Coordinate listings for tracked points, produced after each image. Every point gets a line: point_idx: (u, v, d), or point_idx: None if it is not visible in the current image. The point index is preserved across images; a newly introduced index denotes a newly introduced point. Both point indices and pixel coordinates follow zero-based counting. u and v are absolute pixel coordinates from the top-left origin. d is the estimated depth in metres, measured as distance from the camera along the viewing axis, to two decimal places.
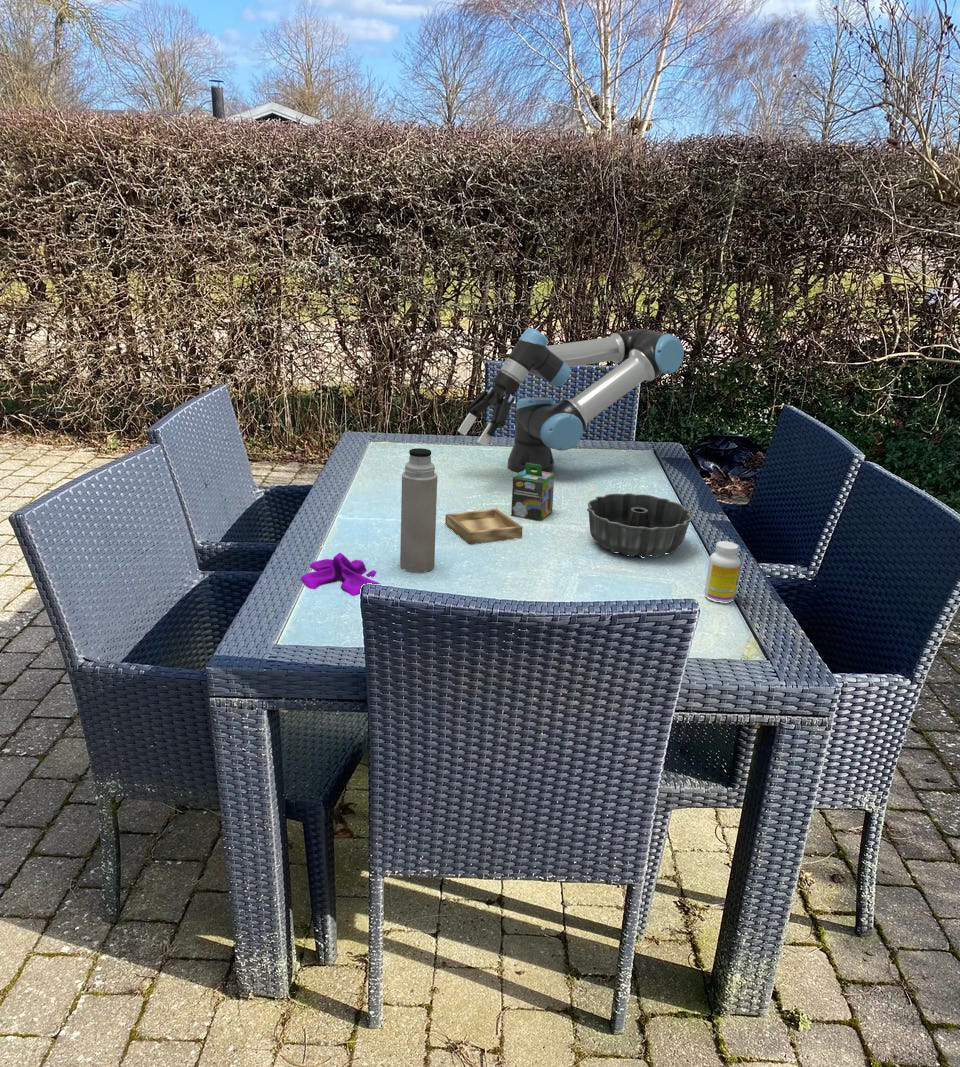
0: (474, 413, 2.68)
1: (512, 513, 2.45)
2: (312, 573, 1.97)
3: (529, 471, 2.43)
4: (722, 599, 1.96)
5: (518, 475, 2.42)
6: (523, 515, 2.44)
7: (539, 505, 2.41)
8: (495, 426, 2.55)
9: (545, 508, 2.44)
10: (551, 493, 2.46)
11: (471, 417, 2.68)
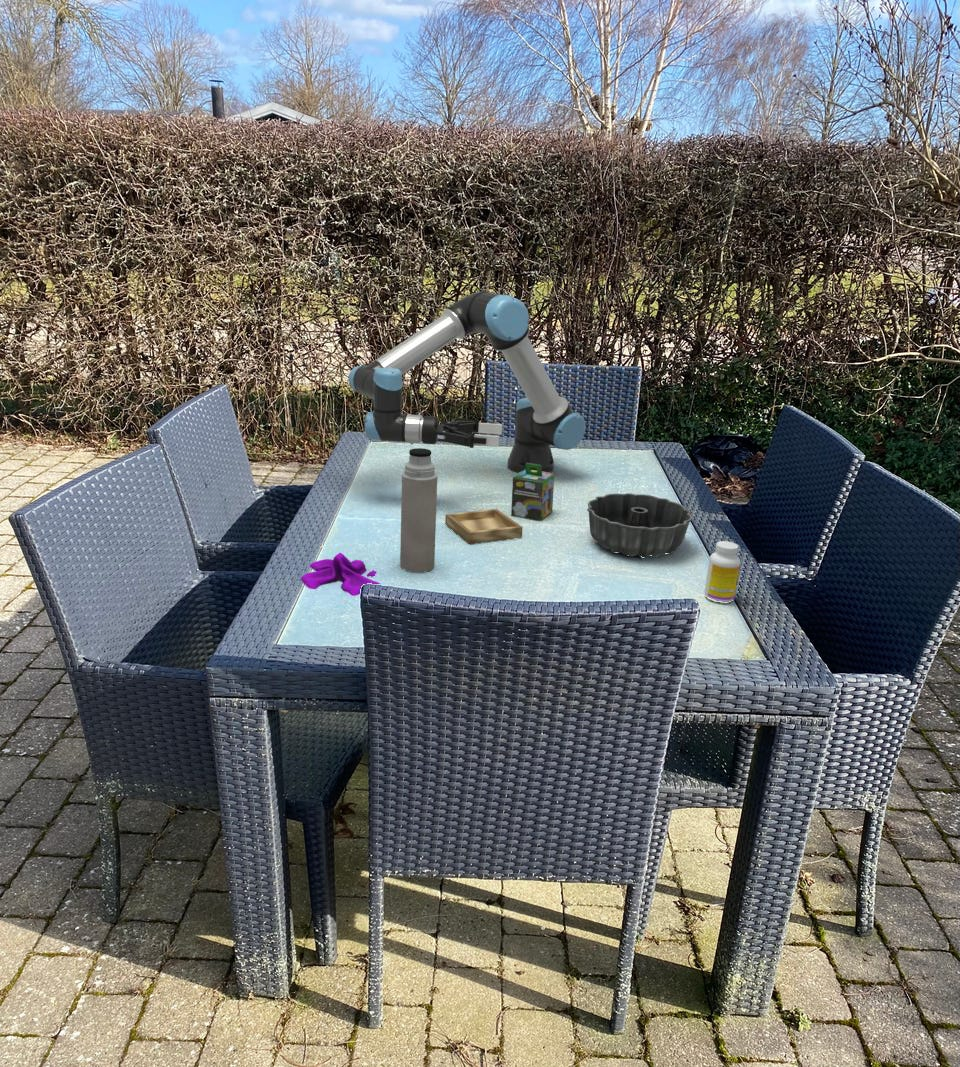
0: (476, 426, 2.48)
1: (512, 513, 2.45)
2: (312, 573, 1.97)
3: (529, 471, 2.43)
4: (722, 599, 1.96)
5: (518, 475, 2.42)
6: (523, 515, 2.44)
7: (539, 505, 2.41)
8: (474, 441, 2.33)
9: (545, 508, 2.44)
10: (551, 493, 2.46)
11: (481, 428, 2.47)
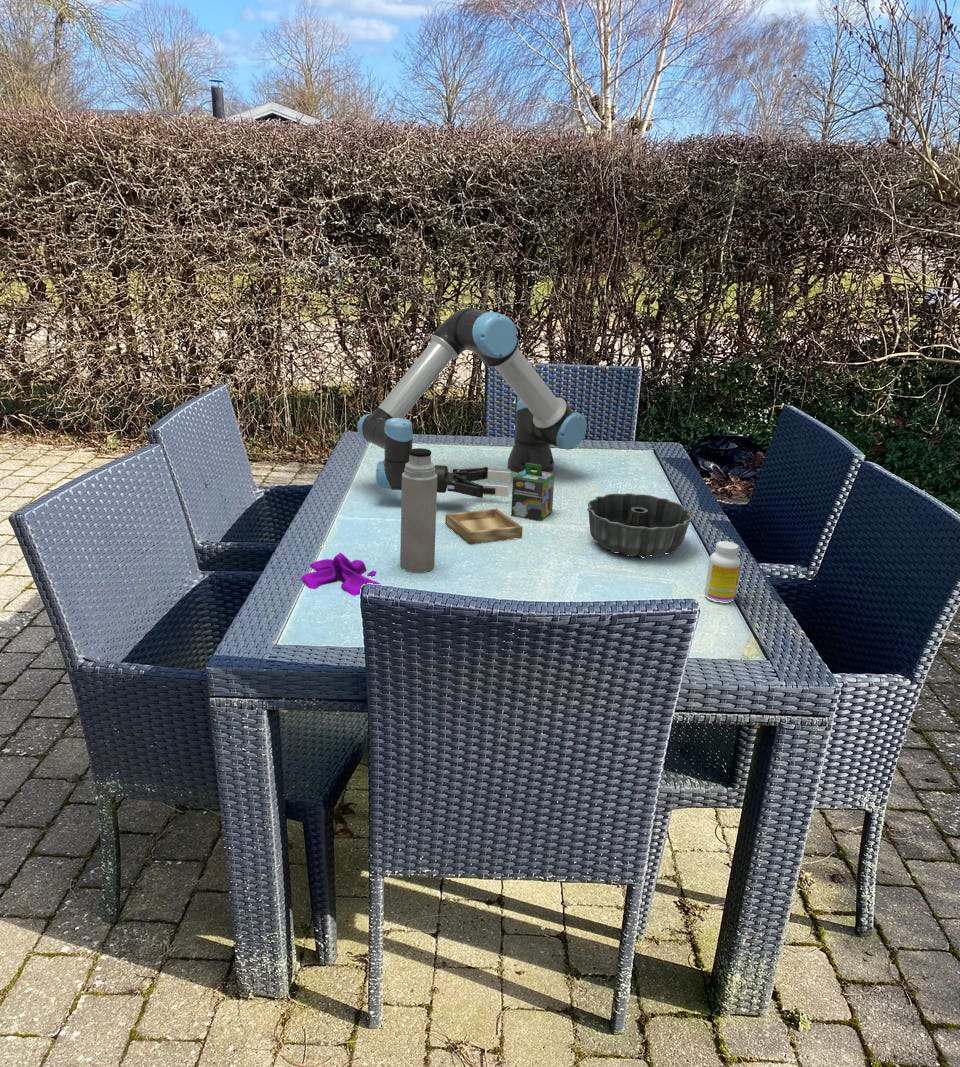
0: (485, 473, 2.52)
1: (512, 513, 2.45)
2: (312, 573, 1.97)
3: (529, 471, 2.43)
4: (722, 599, 1.96)
5: (518, 475, 2.42)
6: (523, 515, 2.44)
7: (539, 505, 2.41)
8: (483, 491, 2.37)
9: (545, 508, 2.44)
10: (551, 493, 2.46)
11: (490, 476, 2.51)
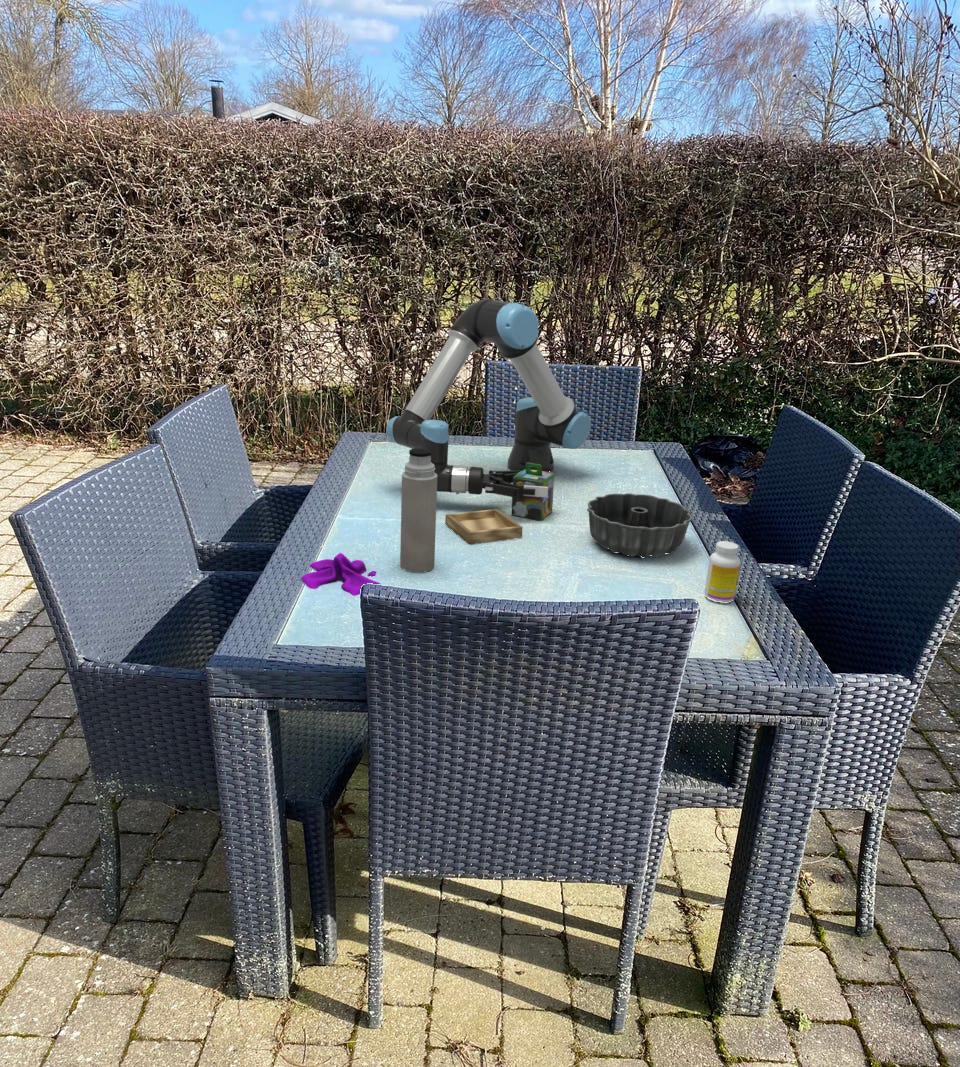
0: None
1: (513, 512, 2.45)
2: (312, 573, 1.98)
3: (529, 471, 2.43)
4: (722, 599, 1.96)
5: (518, 475, 2.42)
6: (523, 515, 2.44)
7: (539, 505, 2.41)
8: (523, 492, 2.38)
9: (545, 507, 2.44)
10: (551, 493, 2.46)
11: None
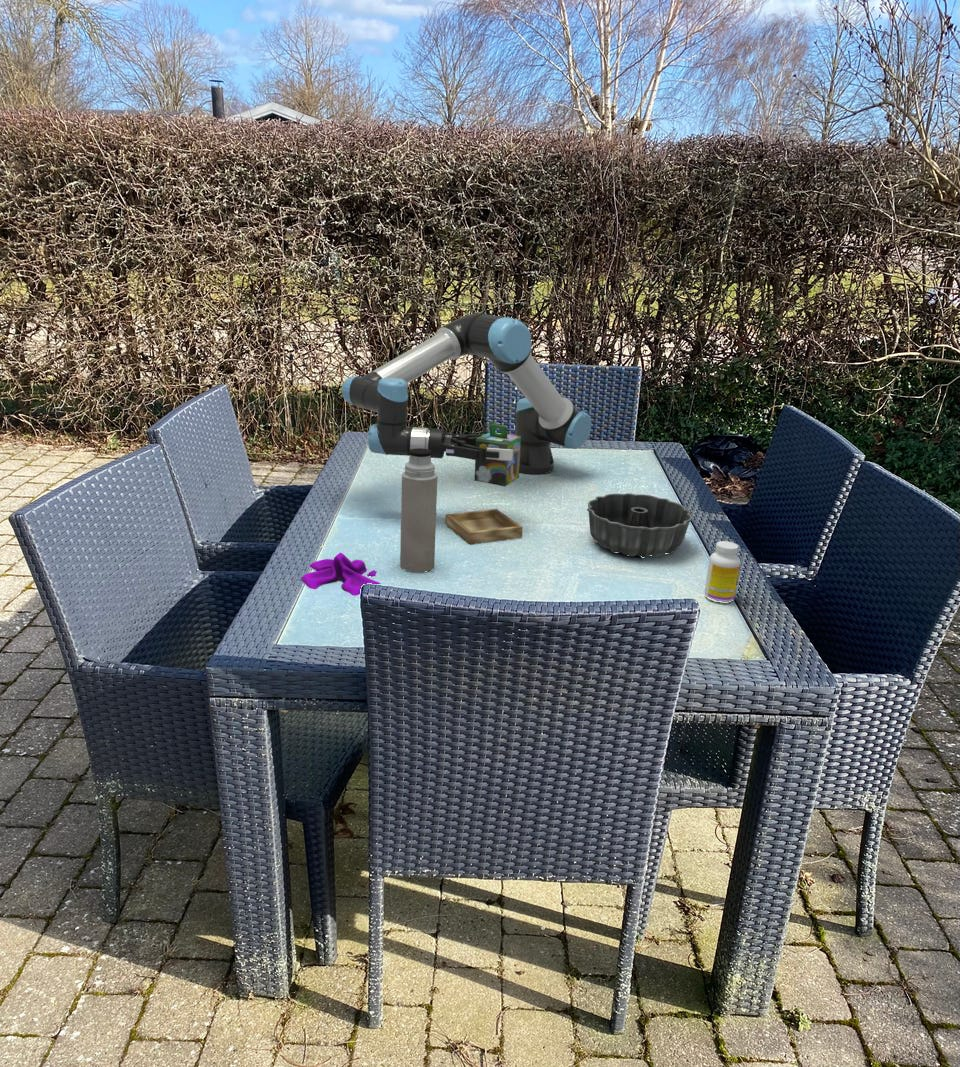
0: None
1: (476, 478, 2.29)
2: (313, 573, 1.98)
3: (494, 433, 2.28)
4: (722, 599, 1.96)
5: (482, 437, 2.27)
6: (487, 480, 2.28)
7: (504, 469, 2.25)
8: (486, 455, 2.22)
9: (510, 472, 2.28)
10: (517, 458, 2.31)
11: None
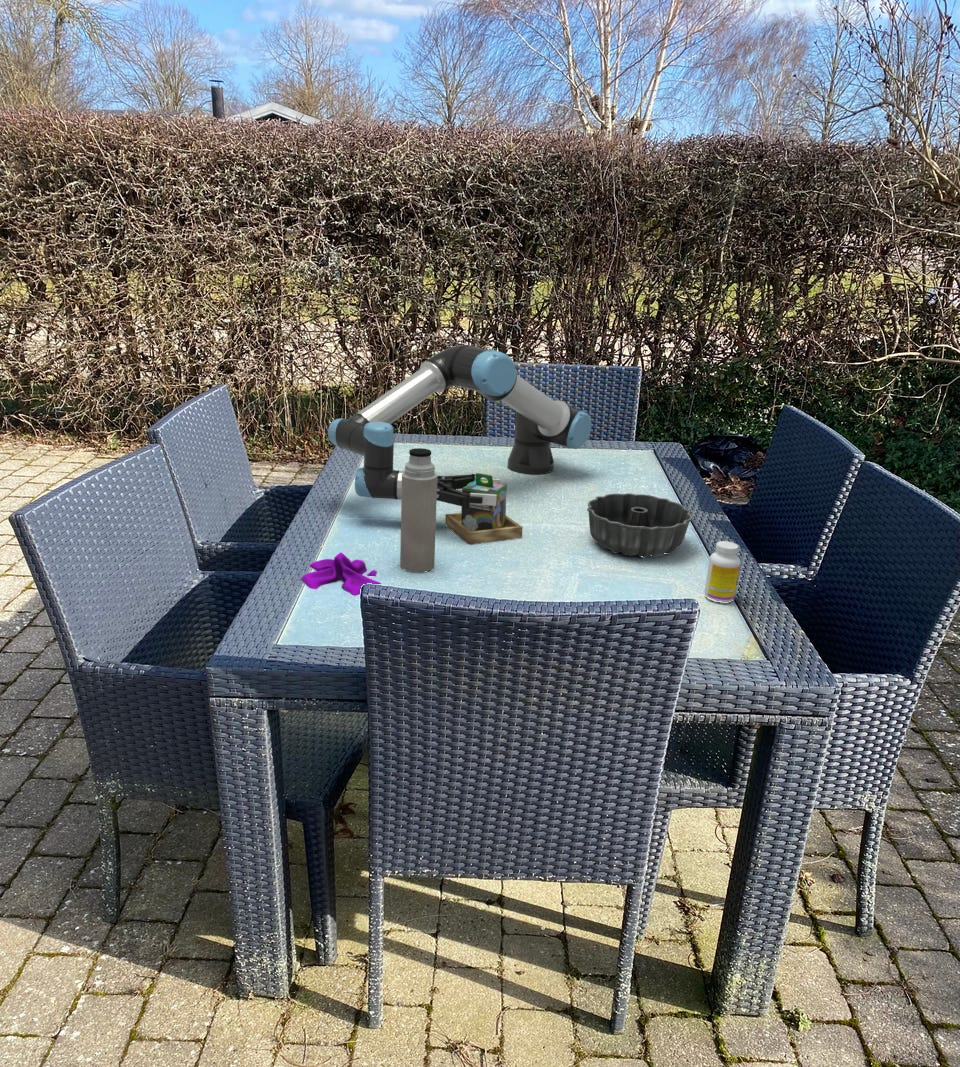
0: (472, 481, 2.36)
1: None
2: (313, 573, 1.98)
3: (479, 482, 2.28)
4: (722, 599, 1.96)
5: (468, 486, 2.27)
6: (473, 529, 2.28)
7: (490, 518, 2.26)
8: (470, 500, 2.21)
9: (497, 521, 2.28)
10: (504, 505, 2.31)
11: None
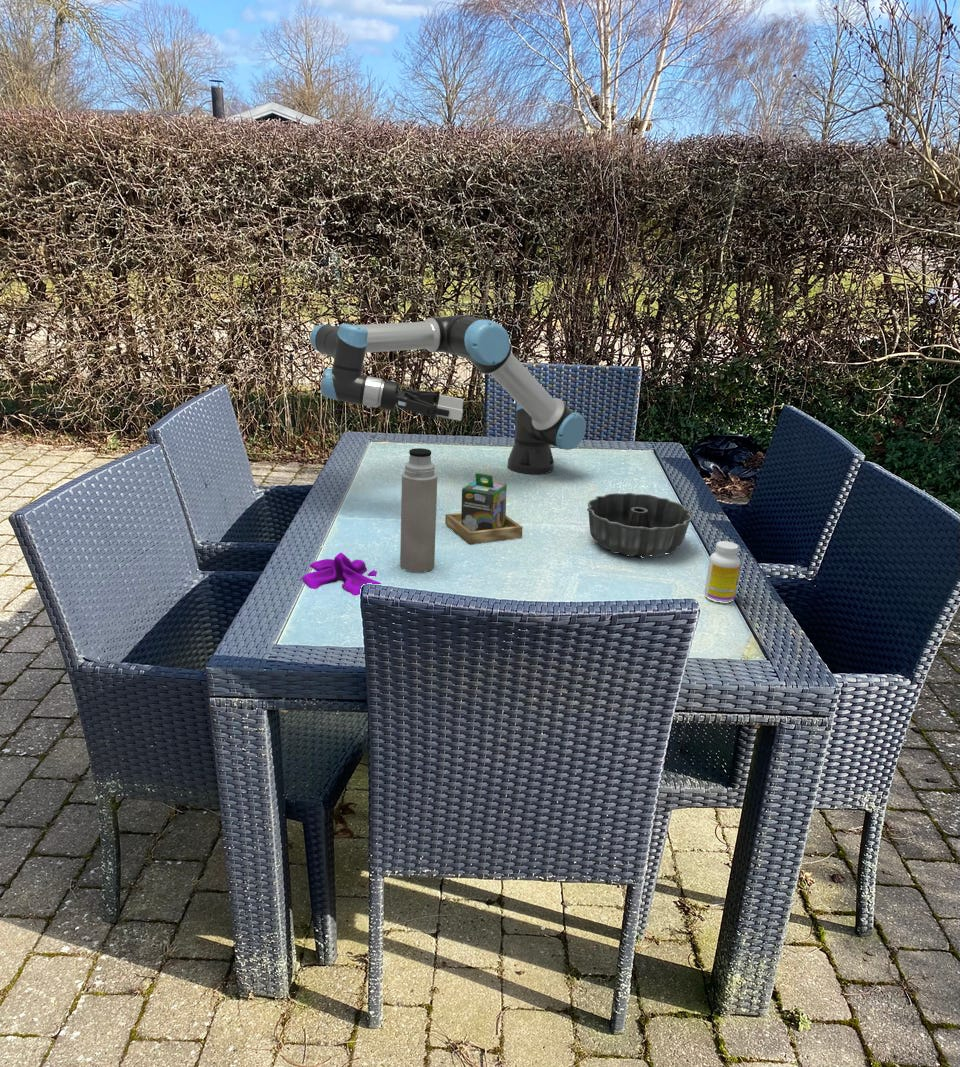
0: (436, 397, 2.38)
1: None
2: (313, 573, 1.98)
3: (479, 482, 2.28)
4: (722, 599, 1.96)
5: (468, 486, 2.27)
6: (473, 529, 2.28)
7: (490, 518, 2.26)
8: (436, 412, 2.24)
9: (497, 521, 2.28)
10: (504, 505, 2.31)
11: (442, 401, 2.38)
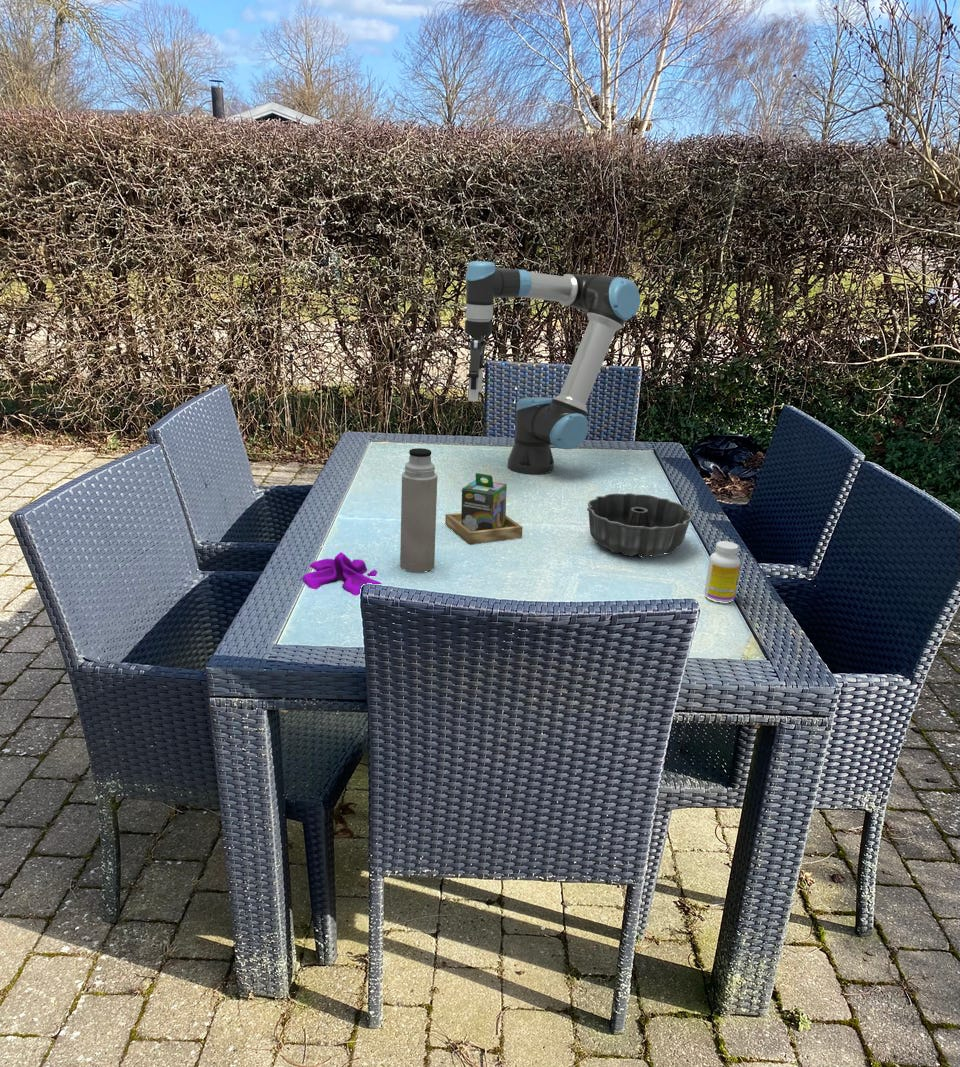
0: (479, 366, 2.58)
1: None
2: (313, 573, 1.98)
3: (479, 482, 2.28)
4: (722, 599, 1.96)
5: (468, 486, 2.27)
6: (473, 529, 2.28)
7: (490, 518, 2.26)
8: (473, 378, 2.44)
9: (497, 521, 2.28)
10: (504, 505, 2.31)
11: None
